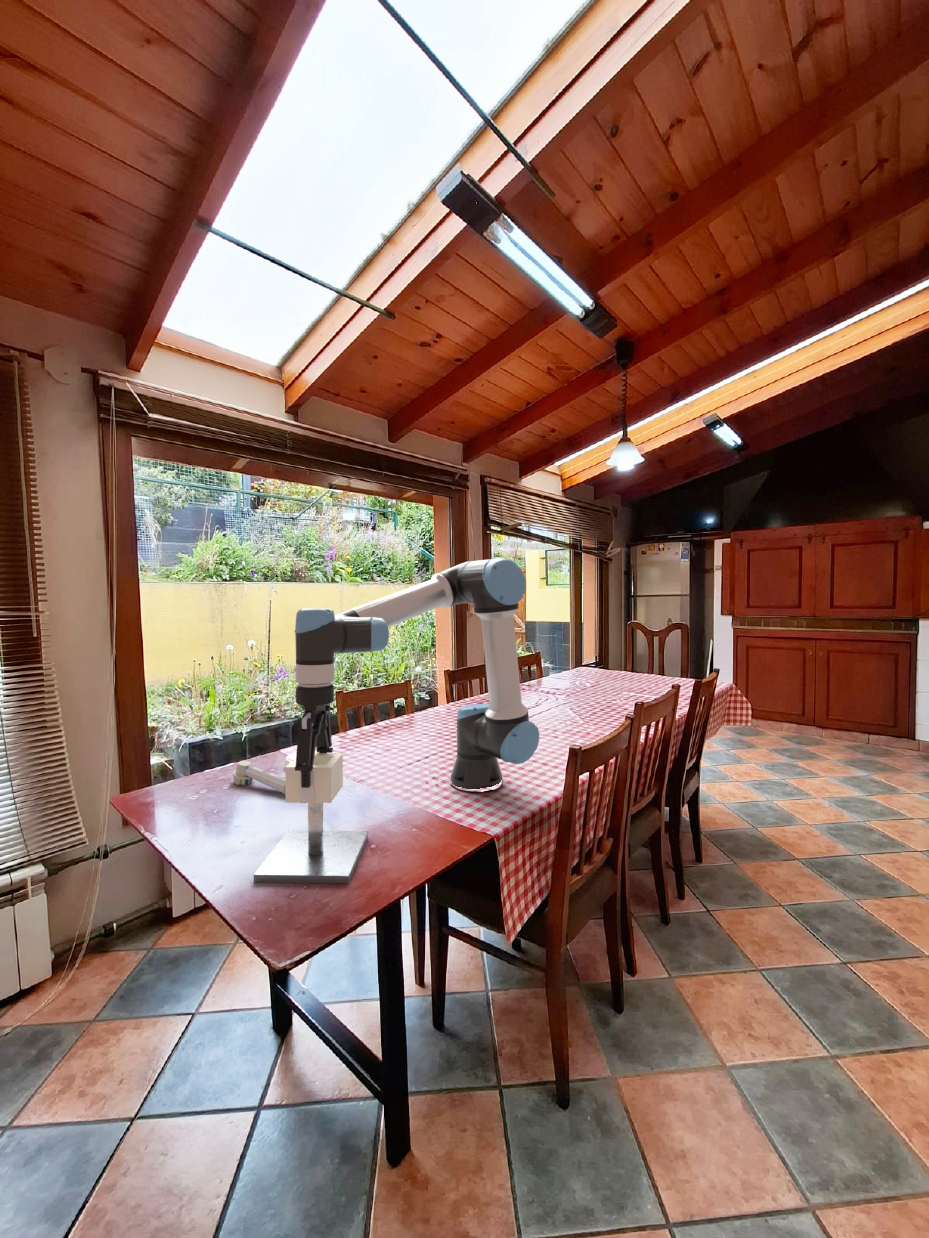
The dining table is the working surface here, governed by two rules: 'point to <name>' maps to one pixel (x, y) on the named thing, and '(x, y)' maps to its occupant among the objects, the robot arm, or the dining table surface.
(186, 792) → the dining table surface
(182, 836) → the dining table surface
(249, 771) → the toothbrush head
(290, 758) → the mooncake
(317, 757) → the collar
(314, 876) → the post base
